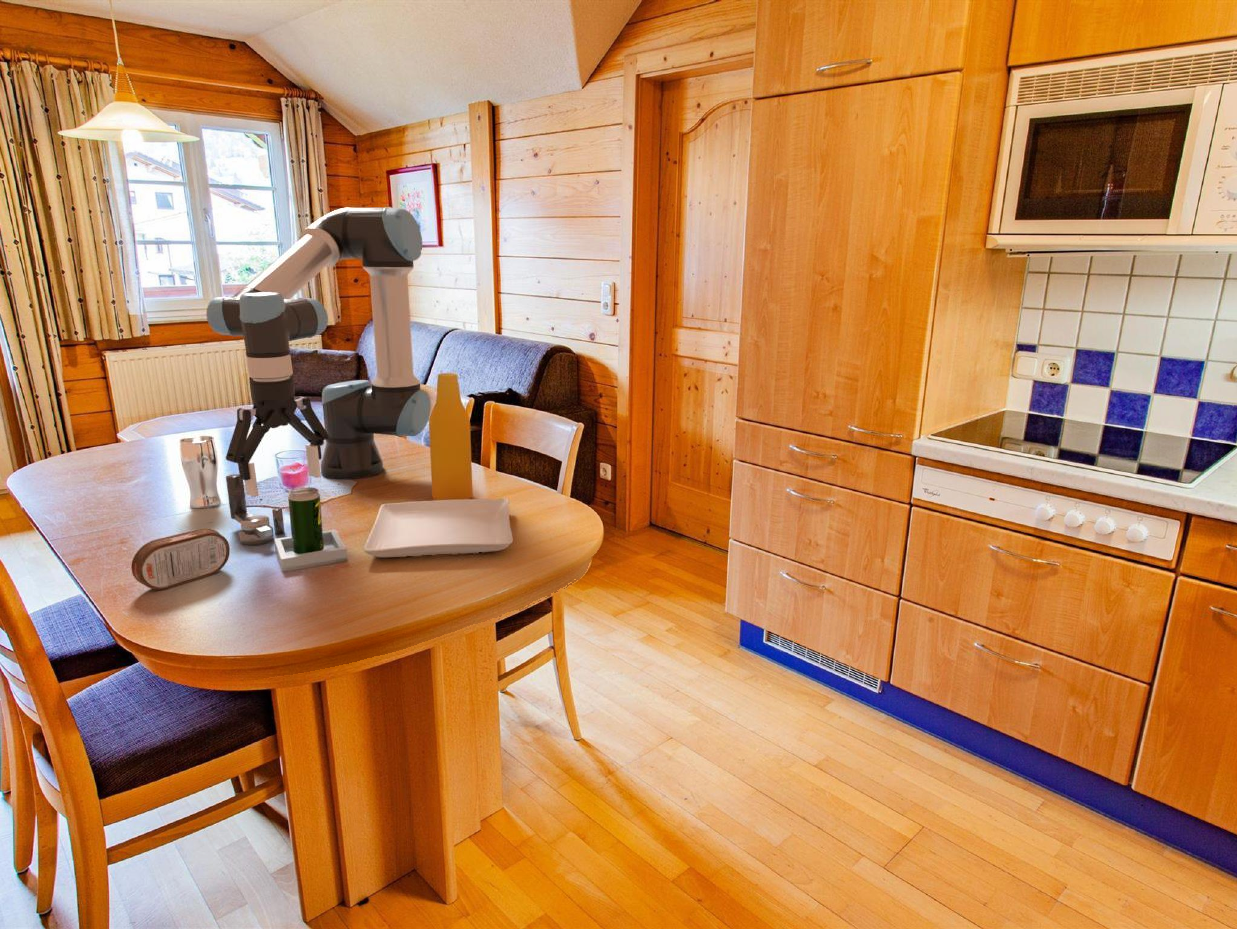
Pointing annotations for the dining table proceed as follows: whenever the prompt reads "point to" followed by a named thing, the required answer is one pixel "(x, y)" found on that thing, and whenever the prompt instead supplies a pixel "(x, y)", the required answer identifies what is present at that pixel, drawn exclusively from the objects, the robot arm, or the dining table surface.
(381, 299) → the robot arm
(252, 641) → the dining table surface
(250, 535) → the base
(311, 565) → the tray
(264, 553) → the dining table surface
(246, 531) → the crank
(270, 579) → the dining table surface
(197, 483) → the beer glass
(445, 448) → the beer bottle
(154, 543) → the tin
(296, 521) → the beer can
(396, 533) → the square plate
